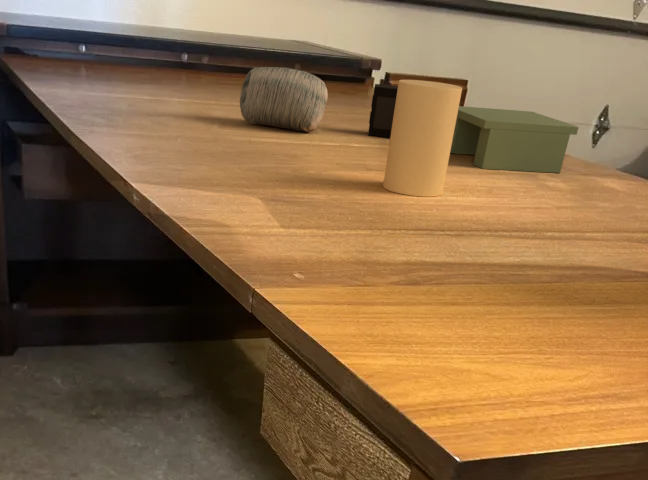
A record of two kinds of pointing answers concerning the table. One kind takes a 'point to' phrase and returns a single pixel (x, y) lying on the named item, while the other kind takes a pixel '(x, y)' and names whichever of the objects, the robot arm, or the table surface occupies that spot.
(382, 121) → the digital camera
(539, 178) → the table surface
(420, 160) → the tan upright cylinder
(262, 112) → the grey yarn skein
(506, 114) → the stand
